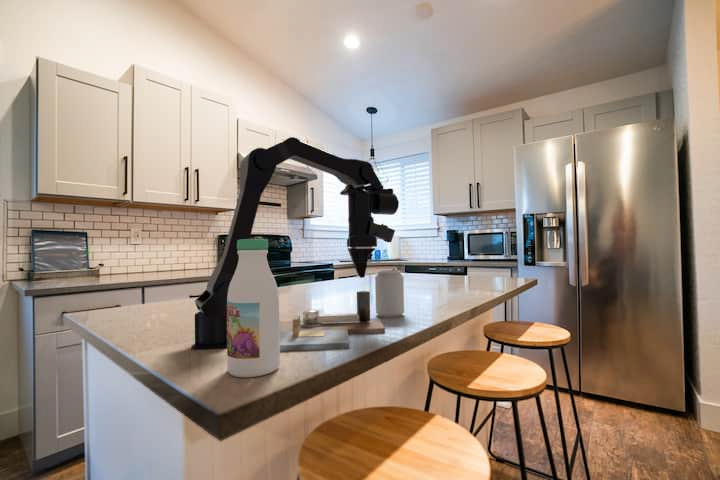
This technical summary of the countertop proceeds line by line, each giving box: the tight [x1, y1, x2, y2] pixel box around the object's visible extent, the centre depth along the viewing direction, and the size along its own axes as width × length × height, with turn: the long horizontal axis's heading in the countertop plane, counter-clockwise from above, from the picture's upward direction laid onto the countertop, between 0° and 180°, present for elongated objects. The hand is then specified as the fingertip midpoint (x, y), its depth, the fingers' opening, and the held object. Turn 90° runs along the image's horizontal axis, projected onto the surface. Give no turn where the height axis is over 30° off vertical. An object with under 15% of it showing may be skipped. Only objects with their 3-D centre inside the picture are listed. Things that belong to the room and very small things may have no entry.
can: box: [374, 269, 405, 319], centre depth 92 cm, size 8×8×12 cm
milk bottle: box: [226, 238, 281, 378], centre depth 53 cm, size 8×8×20 cm
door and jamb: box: [279, 314, 386, 352], centre depth 73 cm, size 24×20×4 cm
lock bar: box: [302, 290, 371, 324], centre depth 79 cm, size 15×4×6 cm, turn 94°
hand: (361, 276), depth 86 cm, fingers open, 7 cm apart
